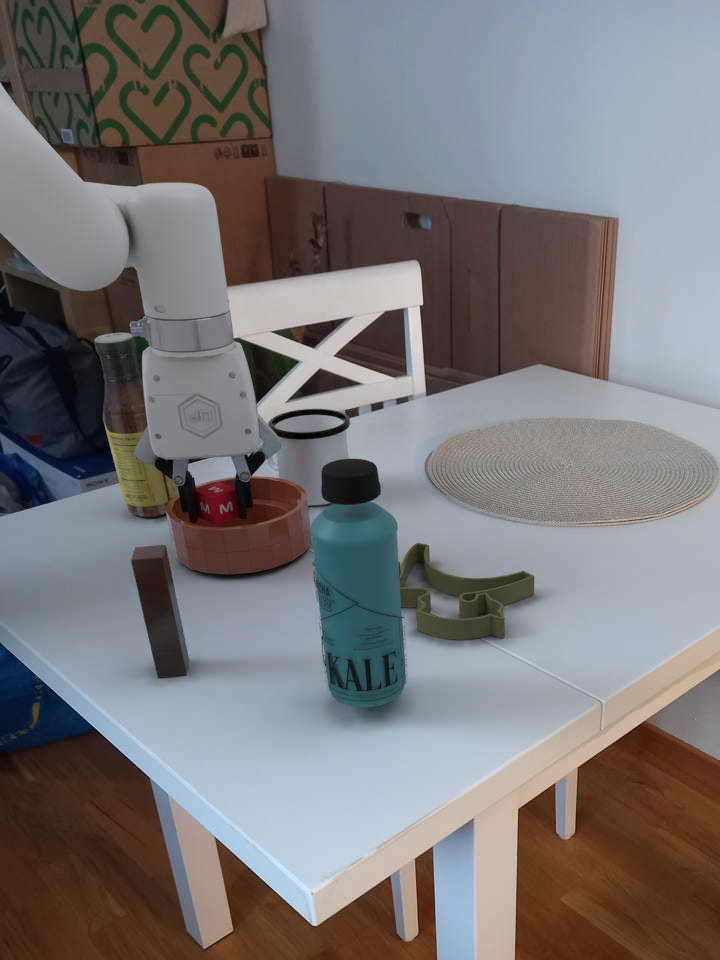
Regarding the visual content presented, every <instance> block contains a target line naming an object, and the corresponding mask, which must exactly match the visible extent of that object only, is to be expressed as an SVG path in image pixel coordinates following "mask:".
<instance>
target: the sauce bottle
mask: <svg viewBox="0 0 720 960" xmlns="http://www.w3.org/2000/svg"><path fill="white" fill-rule="evenodd" d="M93 341H94V347H95V353H97V355H98V356H99V361H100V364H101V367H102V372H103V379H104V399H103V407H102V422H103V424H104V427H105V428H104V429H105V433H106V436H107V440H108V443H109V448H110V451H111V452H110V453H111V455H112V460H113V463H114V467H115V471H116V475H117V479H118V482H119V487H120V491H121V495H122V499H123V501H124V503H125V504H126V507H127V509H128V511H129V512H130V514H132V515H134V516H136V517H141V518H156V517H160V516H163V515H166V508H167V505H168V502H169V501H170V500H171V499H172V498H174V497H175V496H176V495H177V494H179V492H178V486H177V485H175V484H174V483H173V480H171V479H170V478H169V477H167V476H166V475H165V474H163V473H162V472H160V471H159V470H158V469H157V468H156V467H155V466H153V465H150V464H148V463H146V462H144V461H142V460H140V459H138V458H137V457H135V456H134V450H135V447H136V445H137V444H138V442H139V440H140V438H141V436H142V434H143V432H144V430H145V429H146V427H147V425H148V423H147V416H146V408H145V400H144V390H143V377H142V369H140V366H139V361H138V357H137V353H136V350H137V343H136V339H135V337H133V336H132V334H131V333H129V332H112V333H105V334H102V335H101V334H100V335H99V336H96V338H94V340H93Z"/></svg>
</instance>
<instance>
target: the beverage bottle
mask: <svg viewBox="0 0 720 960" xmlns="http://www.w3.org/2000/svg"><path fill="white" fill-rule="evenodd" d="M321 478H322V486H321V493H322V498H323V499H324V500H326V501H328V502H330V503H332V504H329V505H328V506H327V507H325V508H324V509H322V511H320V513H319V514H317V515H316V517H315V518H314V519H313V521H312V522H311V523H310V527H311V528H310V532H311V538H312V550H313V558H314V559H313V562H312V563H311V565H312V566H314V570H313V576H314V577H313V582H314V587H315V588H316V593H315V596H316V598H315V599H316V602H317V603H318V608H319V621H320V622H319V623H318V627H319V635H320V639H321V644H320V645H321V654H322V663H323V668H325V670H324V671H323V672H324V675H325V678H326V679H325V683H326V685H327V686H326V688H327V690H328V691H329V692H330V694H331V696H332V698H333V699H334V700H336V701H337V702H338V703H340V704H342V705H344V706H348V707H353V708H374V707H379V706H383V705H385V704H388V703H390V702H393V701H394V700H396V699H397V698H398V697H399V696H400V695H402V693H403V692H404V689H405V686H406V684H407V681H408V677H407V676H408V669H406V667H408V657H407V654H405V651H406V647H405V644H406V636H404V635H406V632H405V630H406V627H405V626H404V625H403V622H404V624H406V622H405V620H404V621H403V619H405V616H403V613H402V607H401V599H400V580H399V562H400V561H399V546H398V543H399V542H398V527H399V526H398V521H397V519H396V518H395V517H394V515H392V514H391V512H389V511H388V510H387V509H385V508H384V507H382V506H381V505H379V504H377V503H376V502H373V501H374V500H376V499H378V498H379V497H380V495H381V494H382V488H381V486H382V485H381V482H380V477H379V472H378V467H377V465H376V464H375V462H372V461H370V460H367V459H364V458H363V459H362V458H349V459H341V460H336V461H333V462H330V463H328V464H326V465H325V466H324V467H323V468H322V472H321Z"/></svg>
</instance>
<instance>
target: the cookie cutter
mask: <svg viewBox="0 0 720 960" xmlns="http://www.w3.org/2000/svg"><path fill="white" fill-rule="evenodd" d="M430 554H431V553H430V544H428V543H422V542H416V543H414V544H413V545H412V546H411V547H410V548H409V549H408V550H407V552H406V553H405V555H404V558H403V560H402V564H401V562H400V561H399V580H400V599H401V608H417V609H416V610H415V617H416V620H415V621H416V630H417V631H419V632H422V633H424V634H427V635H430V636H433V637H437V638H441V639H447V640H454V641H455V640H456V641H463V640H464V641H466V640H475V639H480V638H485V637H488V636H493V637H496V638H500V639H504V638H505V622H506V621H505V620H506V619H505V617H506V616H505V614H504V606H507V605H510V604H513V603H516V602H520V601H522V600H524V599H527V598H529V597H532V596H534V595H535V575H533V574H531V573H530V572H527V571H525V570H521V571H518V572H514V573H510V574H504V575H499V576H498V575H497V576H492V577H463V576H456V575H453V574H449V573H446V572H444V571H442V570H439V569H437V568H436V567H435V566H433V565H432V564H431V560H430V559H431V557H430ZM418 563H424V576H425V579H426V580H427V582H428V583H429V584H430V585H431V586H432V587H433V588H434V589H436V590H438V591H439V592H441V593H444V594H447V595H450V596H455V597H458V609H459V610H458V612H459V615H458V617H459V618H453V617H444V616H440V615H435V614H432V613H430V612H431V611H432V600H431V599H432V598H431V589H430V588H426V587H419V586H418V587H416V586H415V587H414V586H412V587H406V583H407V579H408V577H409V574H410V573H411V571H412V569H413V568H414V567H415V565H416V564H418ZM480 614H481V615H482V614H485V615H482V616H480Z"/></svg>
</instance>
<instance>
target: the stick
mask: <svg viewBox="0 0 720 960" xmlns="http://www.w3.org/2000/svg"><path fill="white" fill-rule="evenodd" d="M130 563H131V568H132V573H133V577H134V580H135V585H136V589H137V593H138V598H139V602H140V606H141V612H142V615H143V621H144V624H145V628H146V629H145V630H146V633H147V639H148V641H149V646H150V651H151V655H152V660H153V664H154V669H155V673H156V677H157V678H169V677H170V678H171V677H181V676H187V674H188V671H189V664H190V656H189V651H188V647H187V642H186V637H185V632H184V627H183V621H182V618H181V612H180V608H179V601H178V598H177V592H176V588H175V584H174V578H173V572H172V569H171V563H170V558H169V554H168V548H167V545H166V544H159V545H146V546H135V547H134V550H133V553H132V555H131V559H130Z"/></svg>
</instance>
